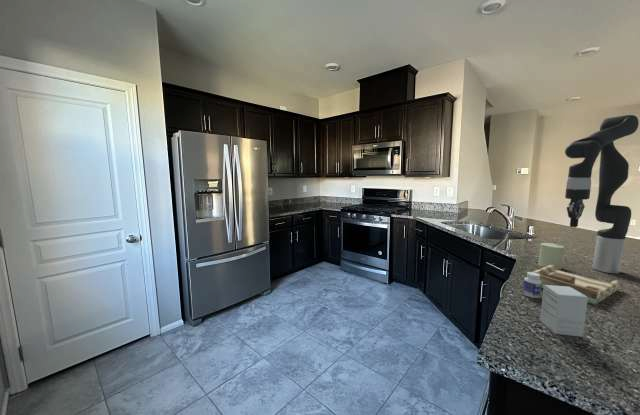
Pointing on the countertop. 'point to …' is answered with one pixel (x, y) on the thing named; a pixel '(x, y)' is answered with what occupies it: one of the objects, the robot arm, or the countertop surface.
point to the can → (551, 255)
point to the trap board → (579, 284)
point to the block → (563, 277)
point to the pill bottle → (532, 285)
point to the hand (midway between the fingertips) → (573, 226)
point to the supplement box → (563, 310)
